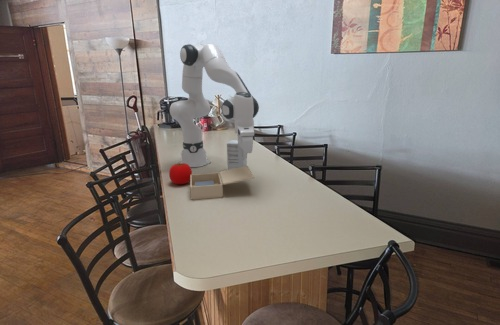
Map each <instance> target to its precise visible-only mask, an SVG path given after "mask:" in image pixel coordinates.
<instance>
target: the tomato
mask: <svg viewBox="0 0 500 325" xmlns="http://www.w3.org/2000/svg"><path fill="white" fill-rule="evenodd" d="M168 173H169V174H168V176H169V179H170V181H171V182H172V183H173V184H175V185H186V184H188V183H189V182H190V175H193V170H192V167H190V166H189V165H188V164H185V163H181V164H180V162H179V163H177V164H176V163H175V164H173V165H172V166H171V167H170V169H169V172H168Z"/></svg>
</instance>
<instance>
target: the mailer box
mask: <svg viewBox="0 0 500 325" xmlns="http://www.w3.org/2000/svg"><path fill="white" fill-rule="evenodd" d="M189 182H190V184H189V185H190V200H191V201H193V200H194V201H195V200H197V201H198V200H207V199H219V198H224V194H223V192H224V190H223V181H222V177H221V174H220V172H211V173H198V174H197V173H196V174H195V173H192V175H190V181H189Z"/></svg>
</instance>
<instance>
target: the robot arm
mask: <svg viewBox="0 0 500 325" xmlns="http://www.w3.org/2000/svg"><path fill="white" fill-rule="evenodd" d="M179 53H180V54H179V55H180V56H179V57H180V58H179V59H180V61H181V63H182V64H183V67H182V76H181V80H182V81H181V88H182V91H183V92H184V93H186V94H187V95H188V99H185V100H184V99H183V100H178V101H174V102H172V103H171V105H170V107H169V114H170V116H171V117H172V119H173V120H175V121H176V122H177V123H178V125H179V126H180V128H181V132H182V140H183V141H182V148H183V149H182V150H181V152H180V156H181V158H180V159H181V160H180V161H179V163H180V164H181V163H185V164H188V165H189V166H190V168H199V167H203V166H205V165H209V164H211V161H210V160H209V159H208V158H207V150H206V149H205V148H204V142H203V136H202V135H203V133H202V128H201V127H200V126H199V125H197V124H196V123H195V122H194V119H198V118H203V117H205V116H208V115H209V114H210V113H211V104H210V102H209V101H208V100H207V99H206V98H205V96H204V94H203V73H204V71H203V70H205V72H206V74H207V76H208V78H209V79H210V80H212V81H214V82H215V83H219V84H223V85H226V86H228V87H231V88H232V89H233V90H234V91H235V94H234V96H233V97H231V98H229V99H225V100H224V101H223V102H222V104H221V114H222V116H223V117H224V118H225V119H227V120H234V133H235V134H237V140H238V144H239V146H240V147H241V149H242V157H243V158H244V159H246V158H247V159H248V154H252V153H253V146H254V136H255V127H254V126H255V121H254V118H255V117H256V116H257V115H258V112H259V109H260V106H259V102H258V101H257V99H256V98H255V97H254V96H253V95H252V94H251V92H250V91H249V89H248V87H247V85H246V84H245V83H244V81H243V79H242V78H241V76H240V75H239V74H238V72H236V71H235V70H234V69H233V68H232V67H231V66H230V65H229V64H228V62H227V61H226V58H225V56H224V54H223V53H222V51H221V49H220V48H219V47H218V45H217V44H215V43H207V44H201V43H200V44H191V43H187V44H183V46H182V47H181V49H180V51H179Z"/></svg>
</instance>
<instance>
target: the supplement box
mask: <svg viewBox="0 0 500 325" xmlns="http://www.w3.org/2000/svg"><path fill="white" fill-rule="evenodd" d="M226 157H227V158H226V159H227V160H226V162H227V170H230V169H234V168H239V167H244V166H248V161H247V159H248V157H247V158H246V159H244V158H243V157H242V149H241V147H240V146H239V144H238V139H235V140H234V139H232V140H229V141H228V142H227V143H226Z"/></svg>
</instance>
